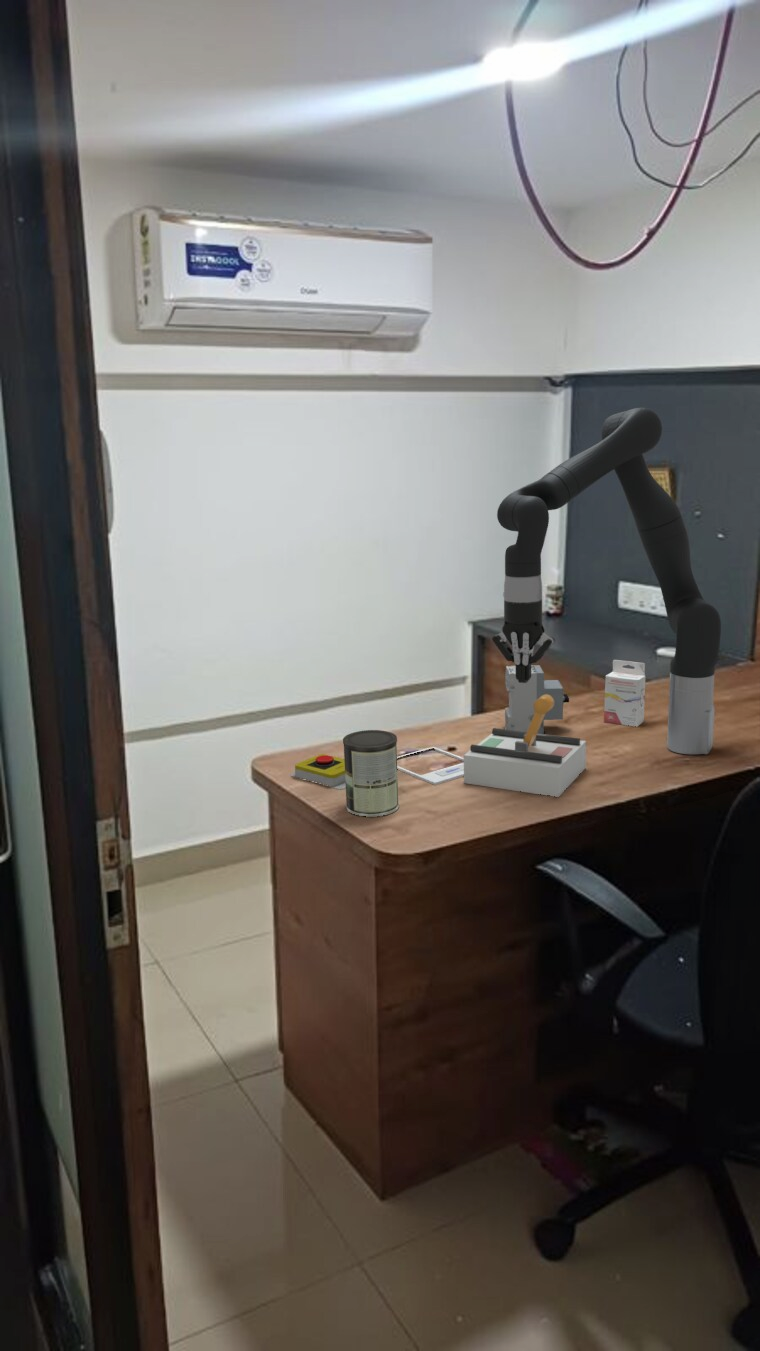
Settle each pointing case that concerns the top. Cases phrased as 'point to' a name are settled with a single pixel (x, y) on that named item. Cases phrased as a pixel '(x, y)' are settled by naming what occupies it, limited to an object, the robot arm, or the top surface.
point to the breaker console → (525, 762)
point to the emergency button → (322, 770)
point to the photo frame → (441, 774)
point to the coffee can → (371, 773)
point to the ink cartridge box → (625, 694)
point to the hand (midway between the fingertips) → (523, 681)
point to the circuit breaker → (531, 699)
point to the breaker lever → (538, 716)
